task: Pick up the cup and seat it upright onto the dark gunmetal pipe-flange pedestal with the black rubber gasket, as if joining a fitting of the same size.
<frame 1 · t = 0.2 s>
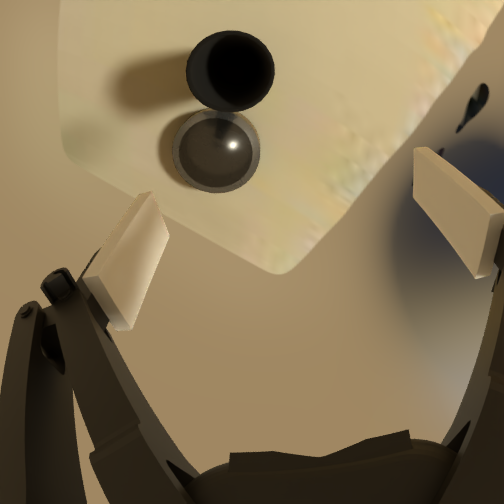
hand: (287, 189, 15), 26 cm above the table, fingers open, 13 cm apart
cup: (239, 66, 34), on the table
flange: (217, 147, 40), on the table
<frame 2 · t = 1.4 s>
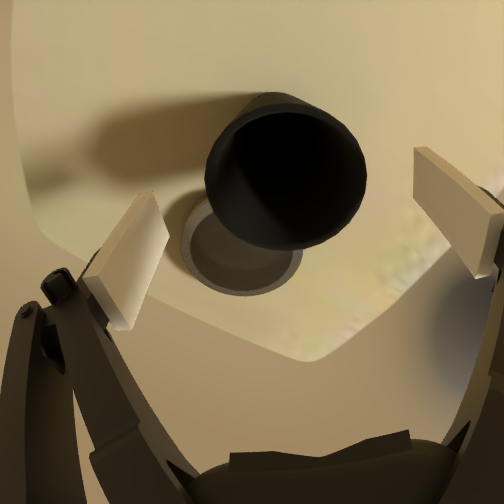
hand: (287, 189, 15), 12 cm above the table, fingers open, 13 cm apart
cup: (276, 124, 24), on the table
flange: (242, 236, 30), on the table
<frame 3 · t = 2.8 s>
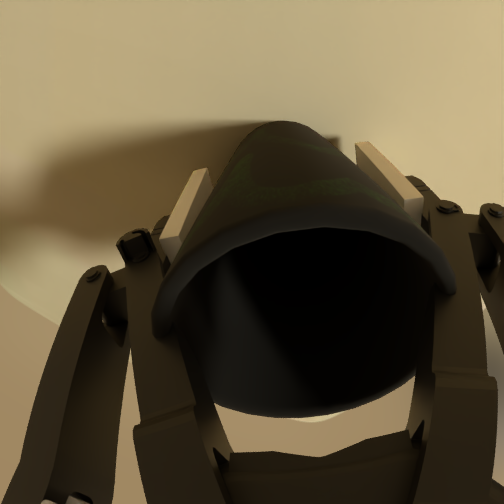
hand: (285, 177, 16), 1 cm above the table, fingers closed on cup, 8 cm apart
cup: (283, 168, 17), on the table, touching gripper
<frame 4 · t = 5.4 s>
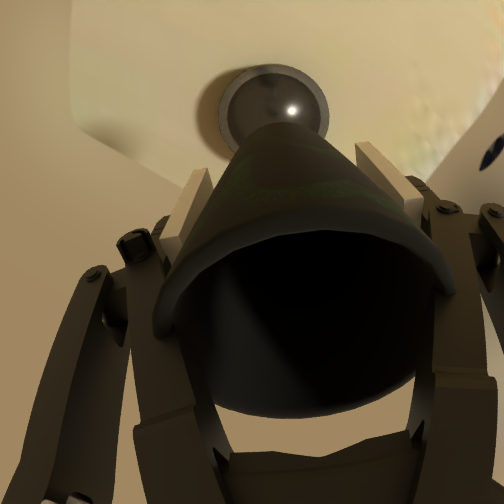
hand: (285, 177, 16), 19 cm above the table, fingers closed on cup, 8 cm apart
cup: (284, 169, 17), point 17 cm above the table, touching gripper
flange: (273, 113, 31), on the table
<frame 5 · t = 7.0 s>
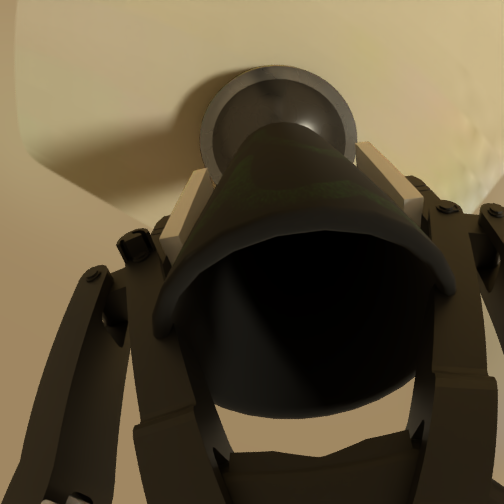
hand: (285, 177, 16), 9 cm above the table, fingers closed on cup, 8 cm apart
cup: (284, 169, 17), point 7 cm above the table, touching gripper
flange: (277, 134, 23), on the table
when the fingers open (5 cm above the table, at t = 8.2 s): cup stays where it is, resting on flange.
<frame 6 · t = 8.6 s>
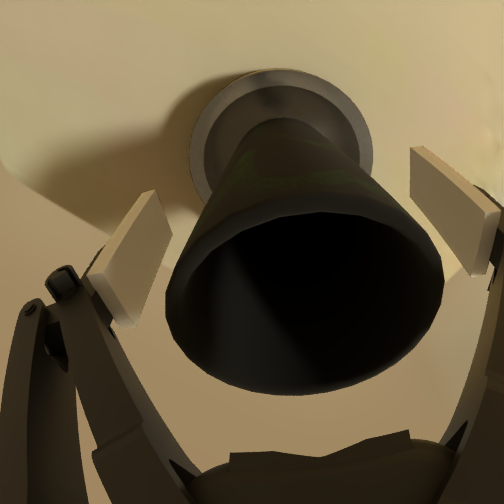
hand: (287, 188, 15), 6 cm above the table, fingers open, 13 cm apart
cup: (282, 162, 18), point 3 cm above the table, touching flange
flange: (280, 150, 20), on the table
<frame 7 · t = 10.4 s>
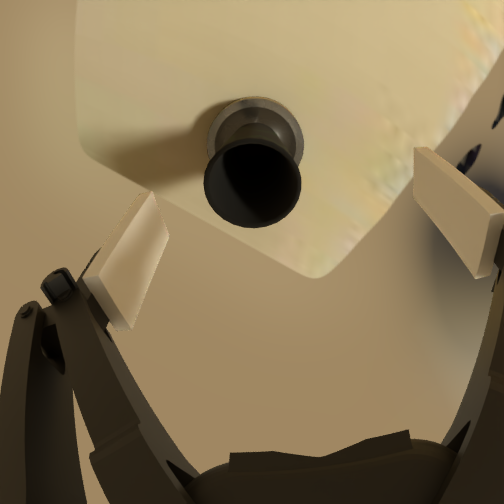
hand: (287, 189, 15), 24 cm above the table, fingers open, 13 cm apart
cup: (255, 145, 34), point 3 cm above the table, touching flange
flange: (255, 140, 37), on the table
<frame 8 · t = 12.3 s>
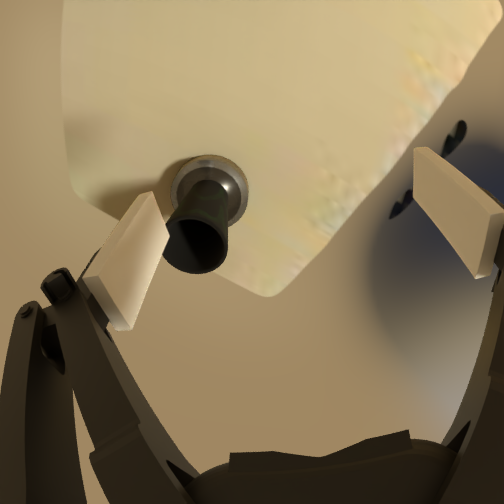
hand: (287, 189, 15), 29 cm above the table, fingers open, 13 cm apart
cup: (208, 197, 44), point 3 cm above the table, touching flange
flange: (211, 190, 46), on the table
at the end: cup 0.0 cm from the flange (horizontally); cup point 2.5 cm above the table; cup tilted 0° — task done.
